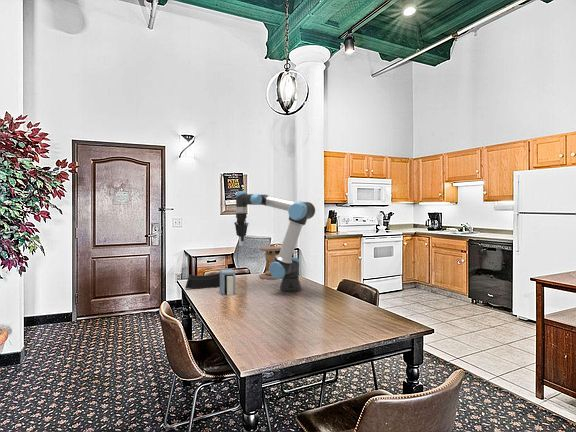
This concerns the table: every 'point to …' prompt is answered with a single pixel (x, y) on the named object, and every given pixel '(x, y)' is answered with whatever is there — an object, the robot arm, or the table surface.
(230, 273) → the housing
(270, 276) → the hourglass
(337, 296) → the table surface
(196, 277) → the magazine
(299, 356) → the table surface
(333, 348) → the table surface
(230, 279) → the tile
